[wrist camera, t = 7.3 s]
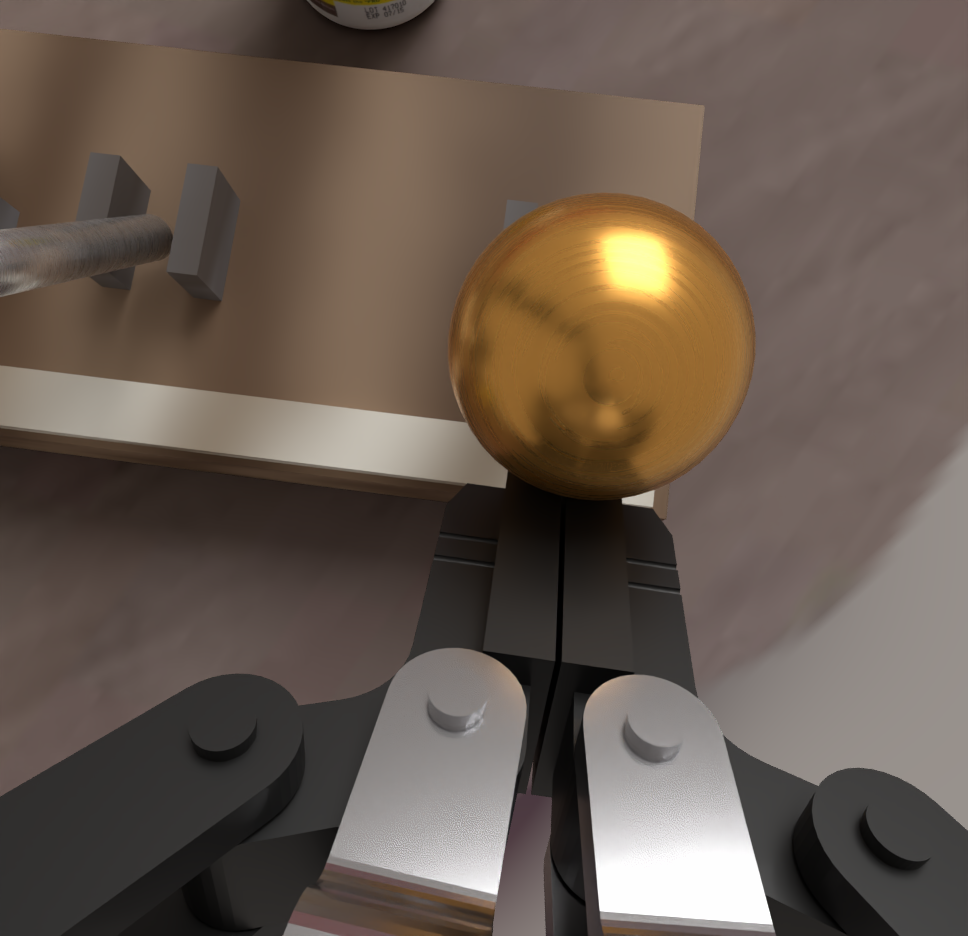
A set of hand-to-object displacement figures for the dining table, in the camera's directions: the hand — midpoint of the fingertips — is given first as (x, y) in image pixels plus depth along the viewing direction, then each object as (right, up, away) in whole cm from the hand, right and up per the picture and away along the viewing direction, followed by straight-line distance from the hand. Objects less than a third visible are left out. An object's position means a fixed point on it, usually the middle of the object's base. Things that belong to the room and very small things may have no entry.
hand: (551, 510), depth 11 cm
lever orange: (+1, +6, +10) cm, 11 cm away
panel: (-8, +6, +14) cm, 17 cm away
